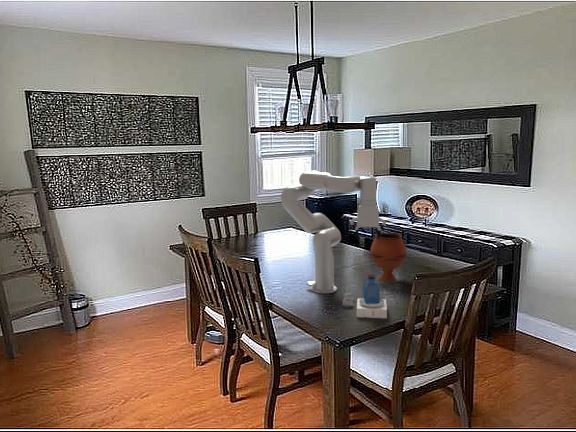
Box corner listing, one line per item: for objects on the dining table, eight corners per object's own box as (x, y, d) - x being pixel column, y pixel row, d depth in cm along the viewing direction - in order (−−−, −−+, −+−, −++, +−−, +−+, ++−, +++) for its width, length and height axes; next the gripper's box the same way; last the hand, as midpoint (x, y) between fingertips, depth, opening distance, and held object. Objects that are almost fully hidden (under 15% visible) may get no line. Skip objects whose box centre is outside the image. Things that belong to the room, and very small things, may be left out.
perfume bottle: (377, 298, 215) (377, 273, 213) (379, 303, 209) (379, 277, 207) (363, 298, 215) (363, 273, 213) (365, 303, 209) (365, 277, 207)
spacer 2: (342, 307, 219) (342, 301, 219) (342, 303, 224) (342, 297, 224) (353, 308, 219) (353, 301, 218) (353, 304, 224) (353, 298, 223)
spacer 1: (343, 302, 226) (343, 296, 226) (343, 298, 231) (343, 292, 231) (353, 302, 225) (353, 296, 225) (353, 299, 230) (353, 293, 230)
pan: (359, 306, 208) (359, 305, 207) (359, 298, 218) (359, 296, 218) (384, 307, 206) (384, 306, 206) (383, 299, 216) (383, 297, 216)
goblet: (412, 278, 259) (413, 234, 254) (391, 286, 246) (392, 240, 242) (384, 271, 273) (385, 229, 269) (363, 279, 261) (363, 235, 256)
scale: (356, 317, 207) (356, 308, 206) (357, 306, 220) (357, 297, 219) (386, 319, 205) (386, 309, 204) (385, 307, 218) (385, 298, 217)
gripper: (349, 204, 220) (349, 239, 223) (387, 204, 217) (386, 240, 220) (350, 201, 227) (349, 236, 230) (386, 201, 224) (385, 236, 227)
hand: (367, 238), depth 225 cm, fingers open, 9 cm apart
